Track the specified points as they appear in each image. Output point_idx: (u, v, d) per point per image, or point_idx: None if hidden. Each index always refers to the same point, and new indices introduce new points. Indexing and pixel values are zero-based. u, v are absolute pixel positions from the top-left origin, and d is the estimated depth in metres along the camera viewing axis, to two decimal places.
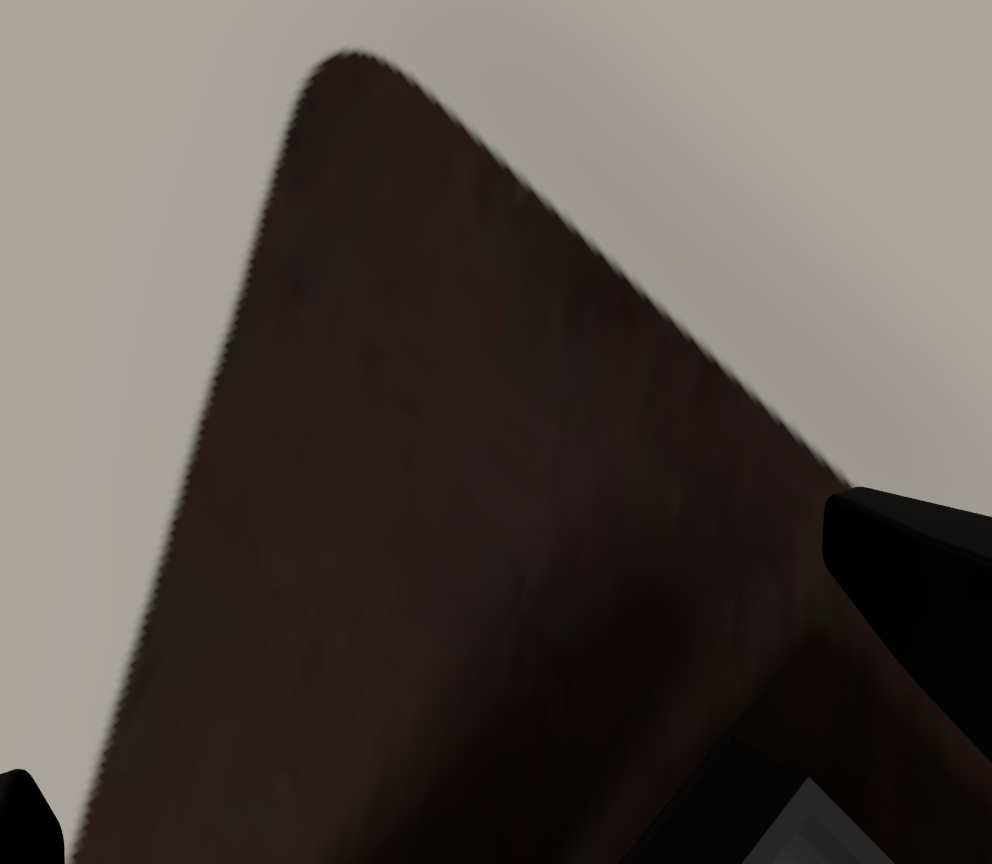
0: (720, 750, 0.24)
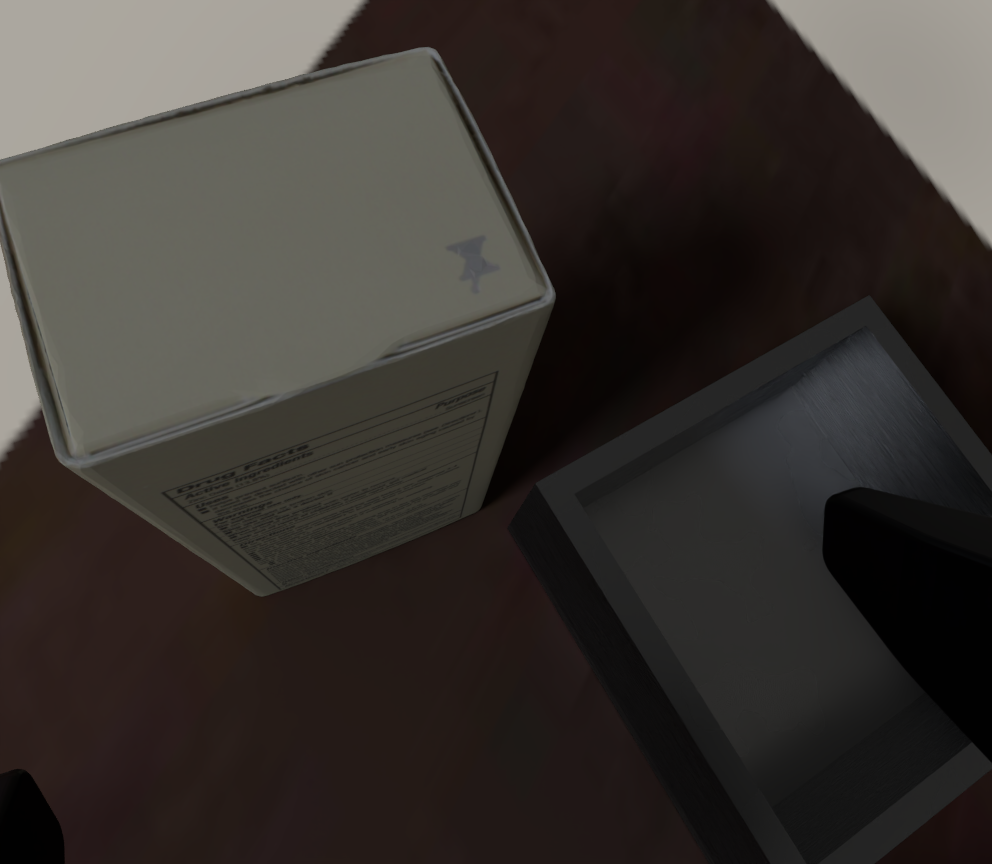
0: None
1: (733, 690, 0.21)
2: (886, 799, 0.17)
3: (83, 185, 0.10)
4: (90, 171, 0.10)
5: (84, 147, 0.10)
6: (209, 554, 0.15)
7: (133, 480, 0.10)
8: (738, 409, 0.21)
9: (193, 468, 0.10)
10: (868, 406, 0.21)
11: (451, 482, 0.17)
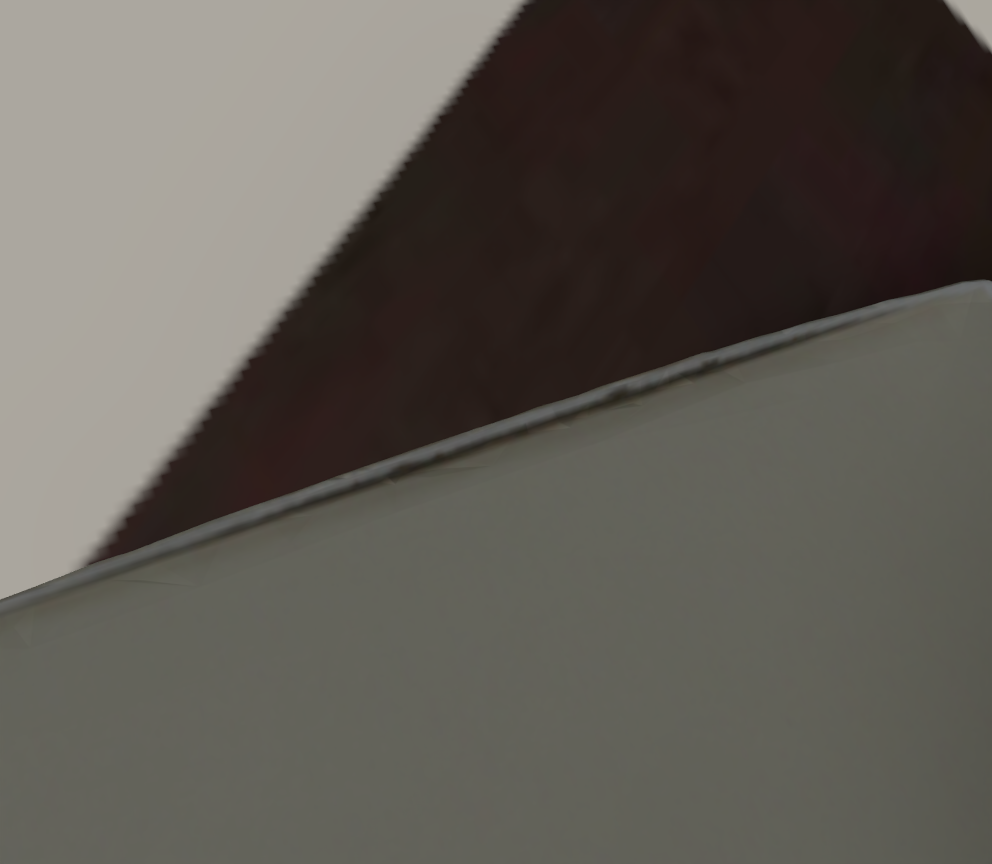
0: None
1: None
2: None
3: (140, 732, 0.03)
4: (162, 679, 0.03)
5: (145, 586, 0.04)
6: None
7: None
8: None
9: None
10: None
11: None
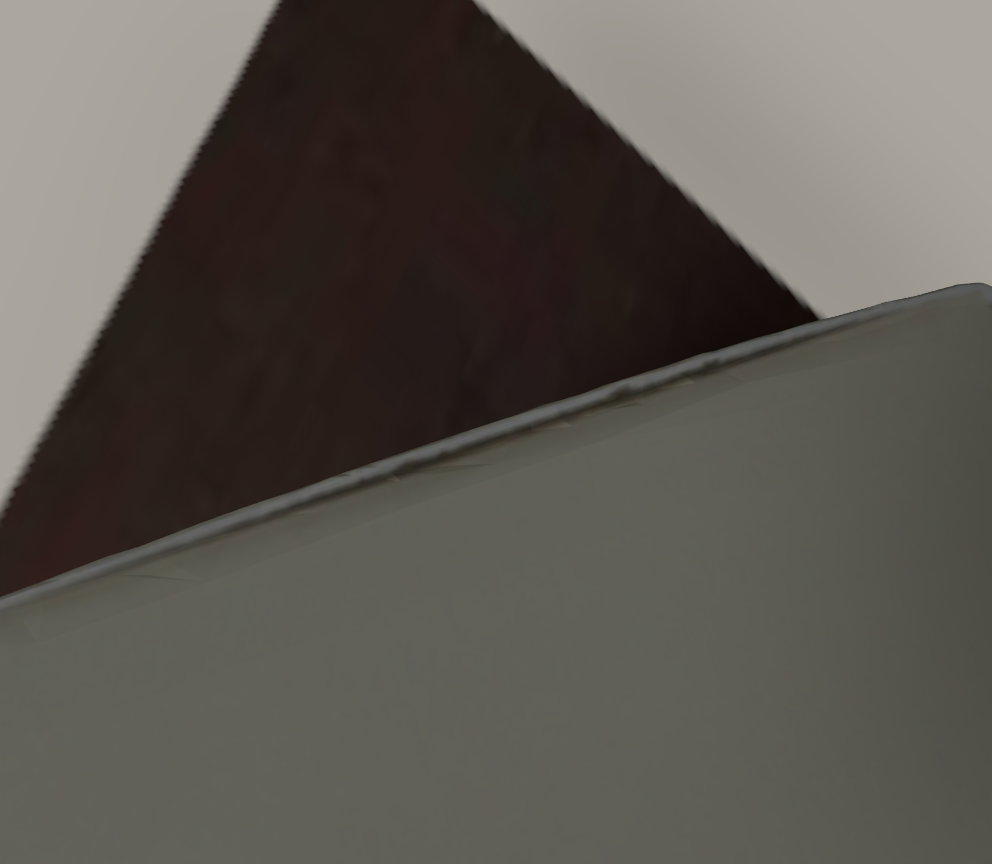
0: None
1: None
2: None
3: (149, 726, 0.03)
4: (169, 672, 0.04)
5: (153, 581, 0.04)
6: None
7: None
8: None
9: None
10: None
11: None
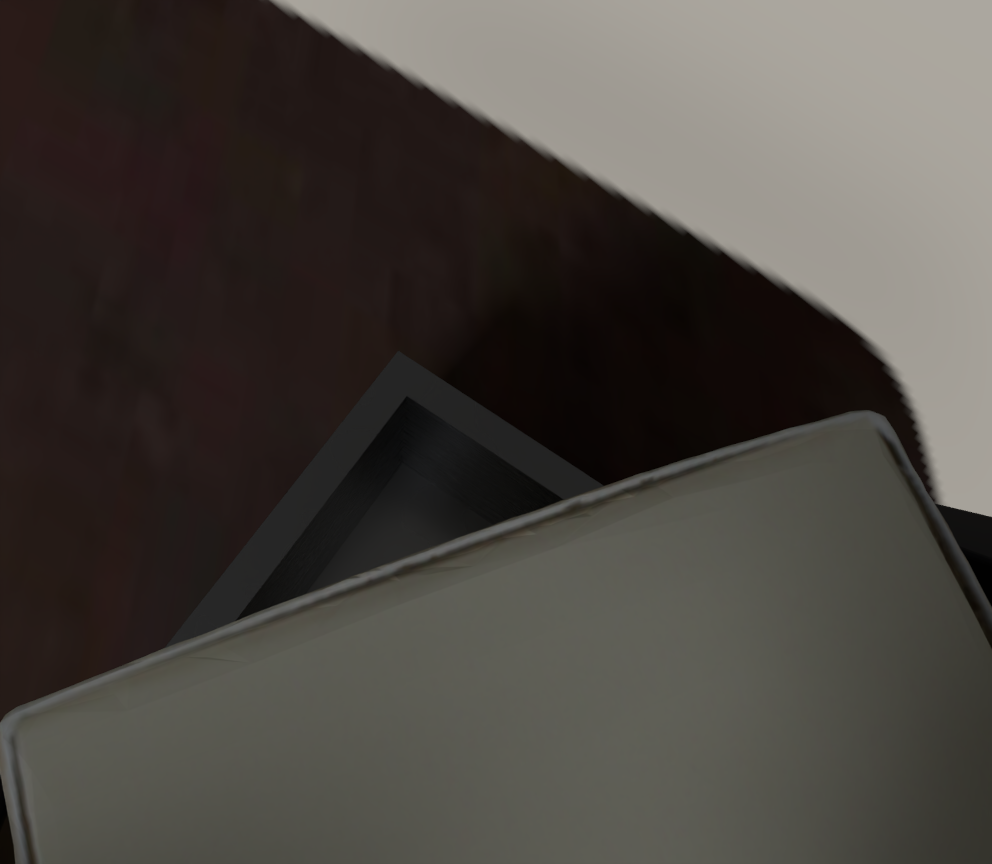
0: None
1: None
2: None
3: (211, 775, 0.05)
4: (227, 734, 0.05)
5: (211, 662, 0.05)
6: None
7: None
8: (312, 556, 0.15)
9: None
10: (474, 475, 0.16)
11: None
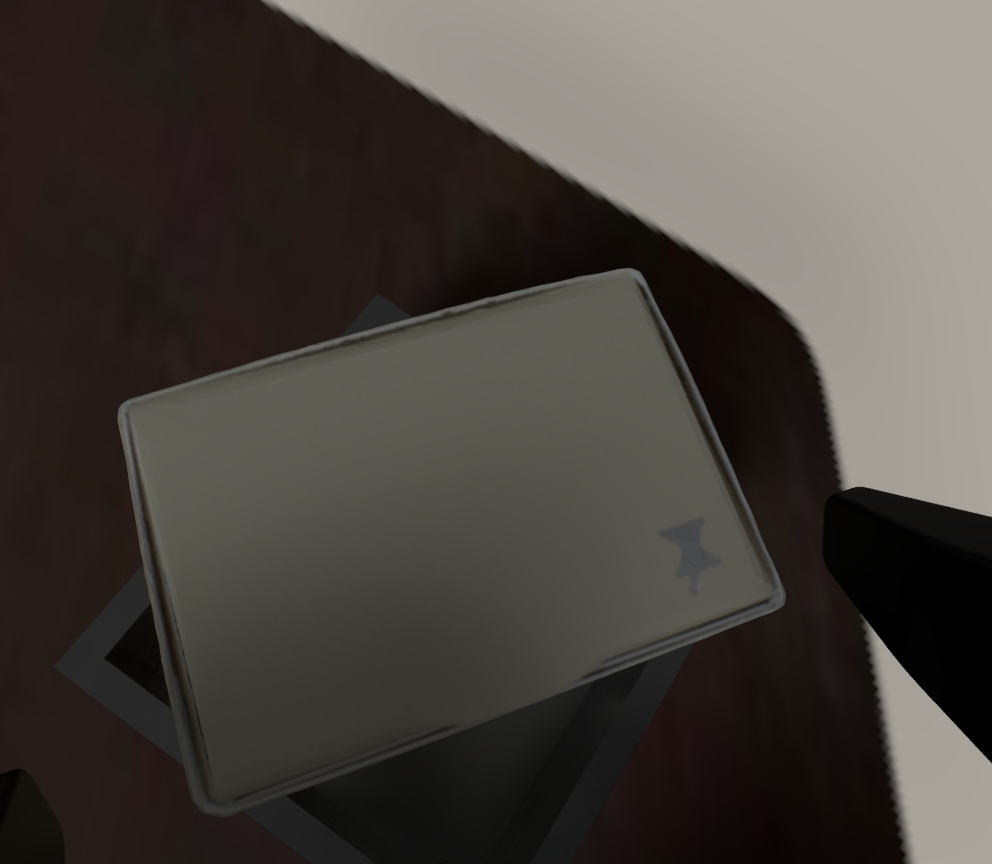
0: None
1: None
2: (550, 821, 0.16)
3: (233, 436, 0.08)
4: (242, 417, 0.09)
5: (234, 383, 0.09)
6: None
7: None
8: None
9: None
10: None
11: None
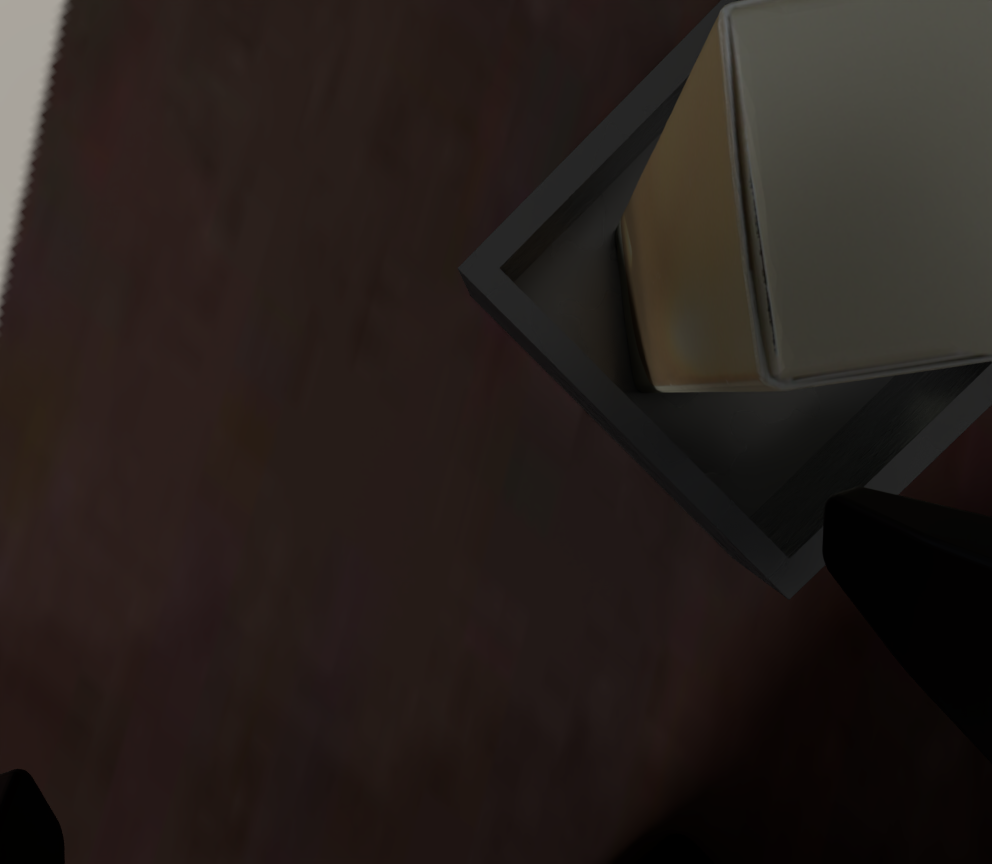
0: None
1: (723, 396, 0.21)
2: (862, 478, 0.17)
3: (828, 53, 0.09)
4: (837, 35, 0.09)
5: None
6: None
7: None
8: None
9: None
10: None
11: None
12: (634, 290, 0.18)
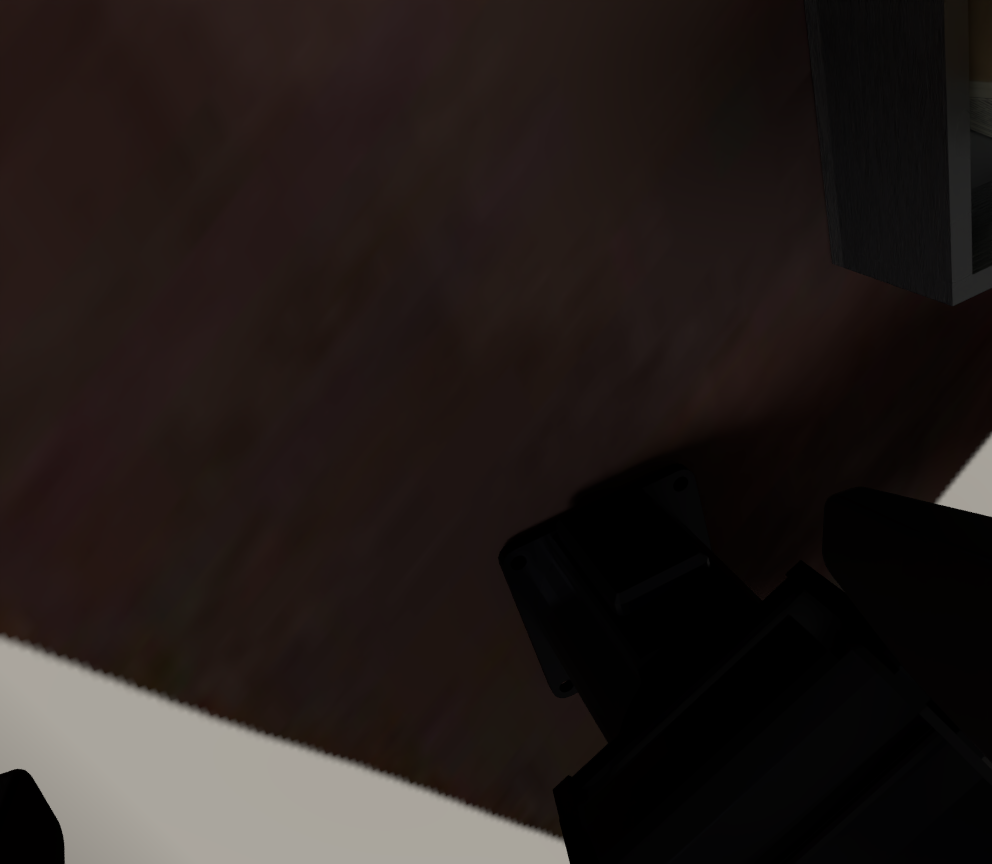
0: None
1: None
2: None
3: None
4: None
5: None
6: None
7: None
8: None
9: None
10: None
11: None
12: None
